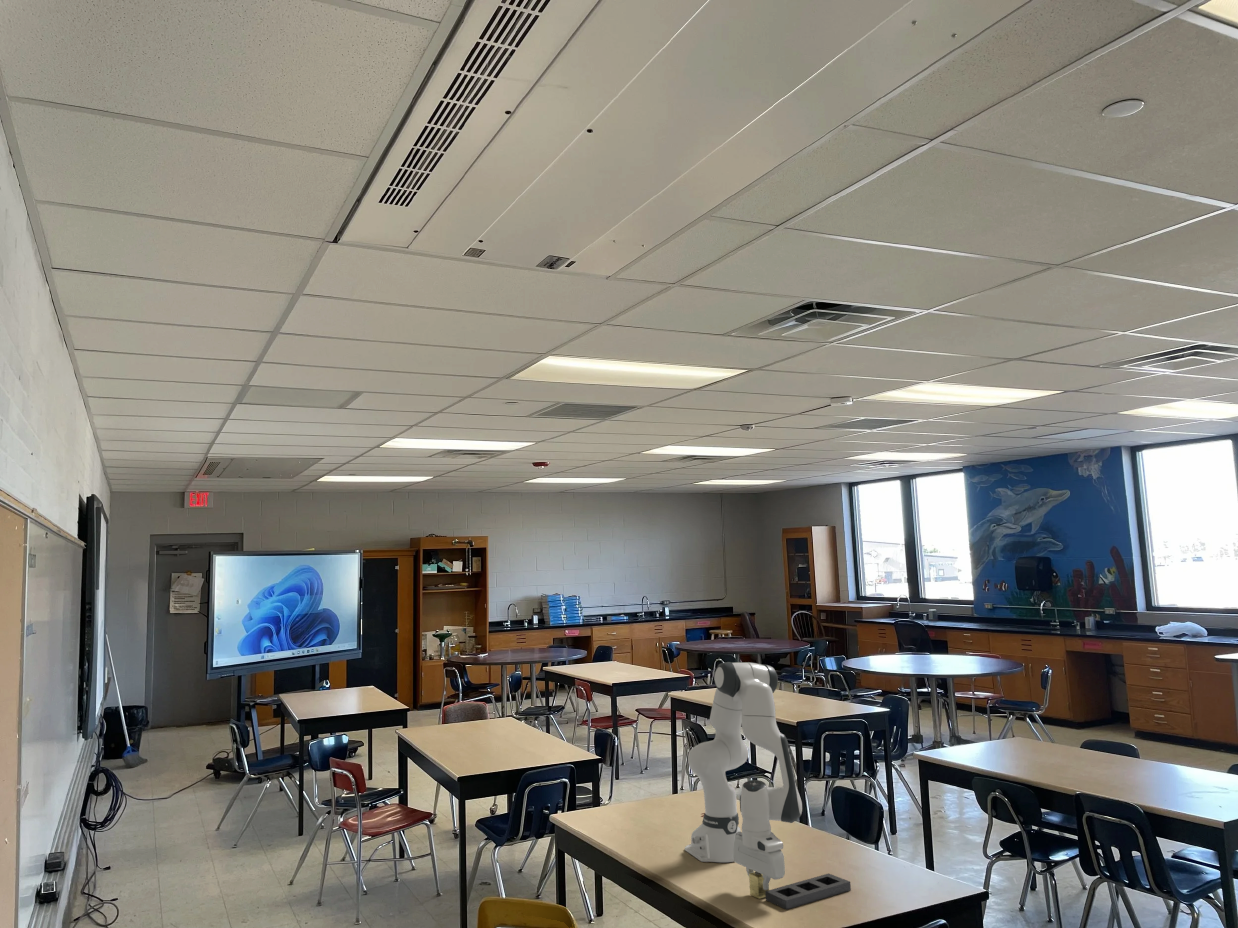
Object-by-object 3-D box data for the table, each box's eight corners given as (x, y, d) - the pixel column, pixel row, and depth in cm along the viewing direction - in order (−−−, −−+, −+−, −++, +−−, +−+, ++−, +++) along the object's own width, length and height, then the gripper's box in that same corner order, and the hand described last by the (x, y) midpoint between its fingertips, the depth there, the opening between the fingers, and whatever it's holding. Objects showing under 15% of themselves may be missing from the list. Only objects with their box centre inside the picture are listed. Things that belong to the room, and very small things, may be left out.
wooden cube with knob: (750, 894, 249) (749, 871, 250) (760, 891, 251) (759, 869, 252) (758, 898, 245) (757, 875, 246) (769, 895, 247) (767, 872, 248)
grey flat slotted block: (765, 899, 245) (765, 891, 245) (829, 881, 258) (828, 873, 258) (786, 909, 237) (786, 900, 237) (850, 890, 250) (850, 881, 251)
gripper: (727, 831, 258) (729, 878, 256) (770, 848, 240) (773, 898, 238) (743, 827, 261) (745, 874, 259) (787, 844, 243) (789, 894, 241)
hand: (759, 886), depth 248 cm, fingers closed on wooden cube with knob, 4 cm apart
